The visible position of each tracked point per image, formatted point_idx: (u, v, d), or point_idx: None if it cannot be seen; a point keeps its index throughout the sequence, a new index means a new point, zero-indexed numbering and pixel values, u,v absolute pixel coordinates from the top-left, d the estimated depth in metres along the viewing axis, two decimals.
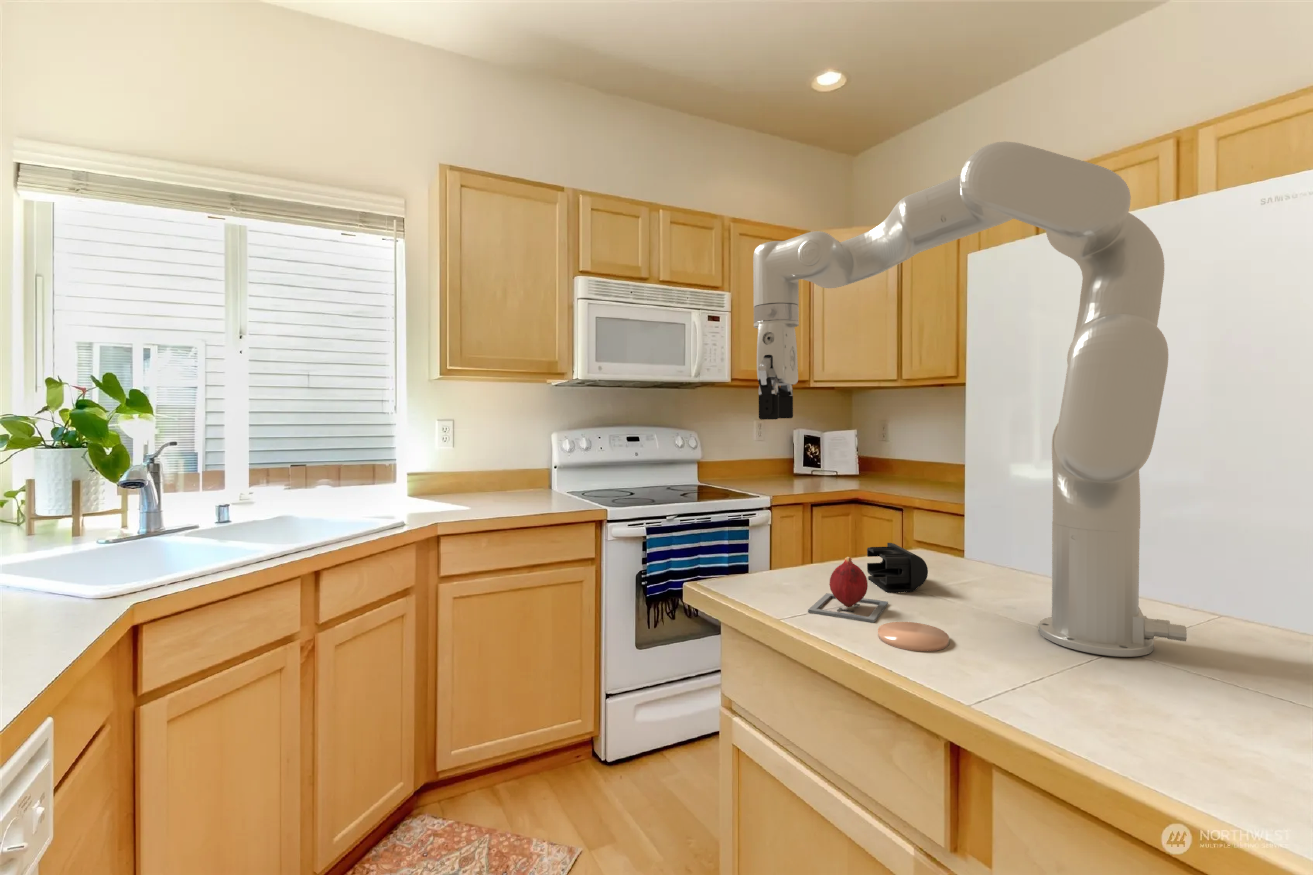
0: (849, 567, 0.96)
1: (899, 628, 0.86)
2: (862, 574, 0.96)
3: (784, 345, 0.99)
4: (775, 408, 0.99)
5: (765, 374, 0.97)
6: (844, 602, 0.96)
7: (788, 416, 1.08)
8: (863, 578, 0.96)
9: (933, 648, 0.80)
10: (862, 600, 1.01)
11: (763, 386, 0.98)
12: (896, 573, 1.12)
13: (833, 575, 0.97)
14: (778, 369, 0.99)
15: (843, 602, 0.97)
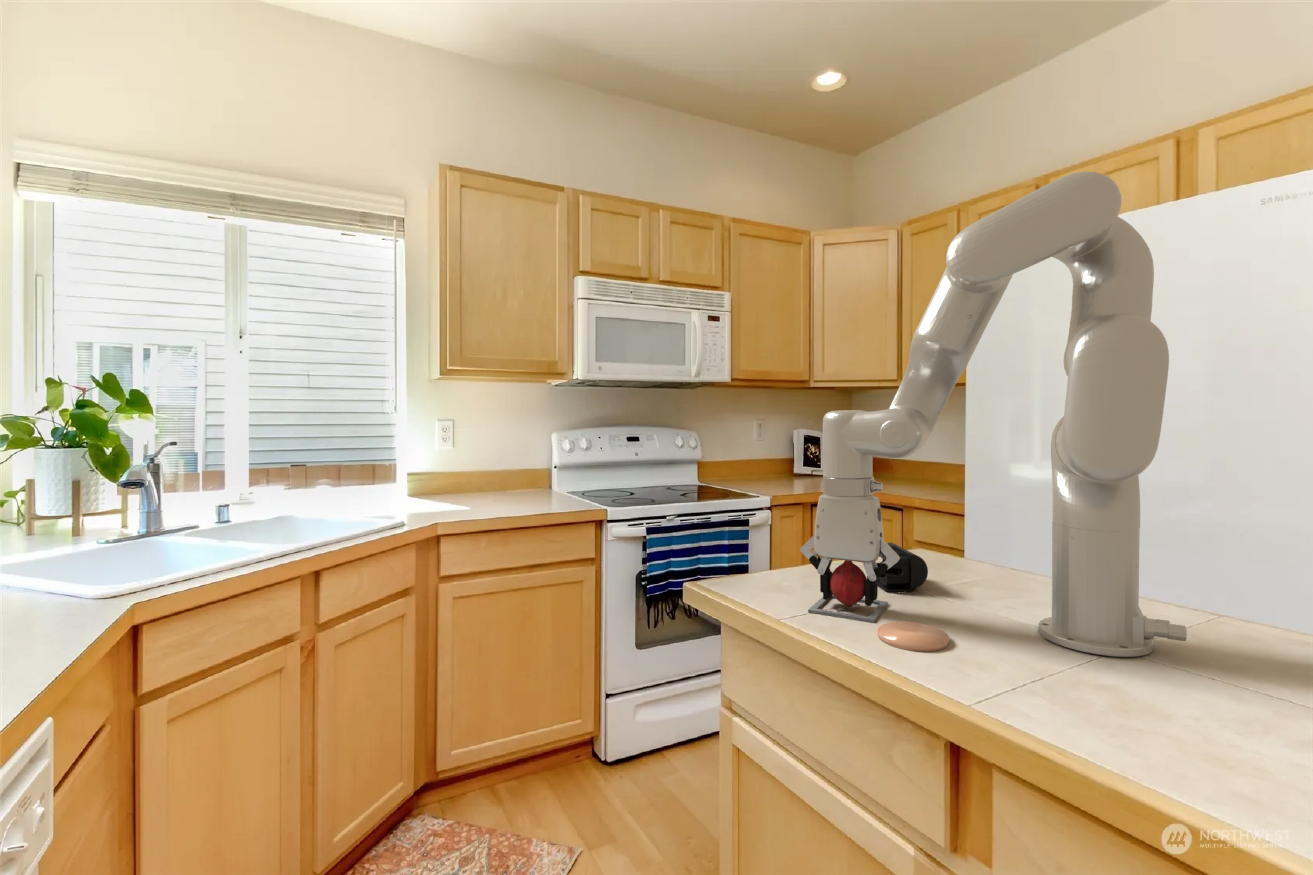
0: (849, 567, 0.96)
1: (899, 628, 0.86)
2: (862, 574, 0.96)
3: None
4: None
5: None
6: (844, 602, 0.96)
7: (832, 594, 1.00)
8: (863, 578, 0.96)
9: (933, 648, 0.80)
10: (862, 600, 1.01)
11: None
12: (896, 573, 1.12)
13: (833, 575, 0.97)
14: None
15: (843, 602, 0.97)
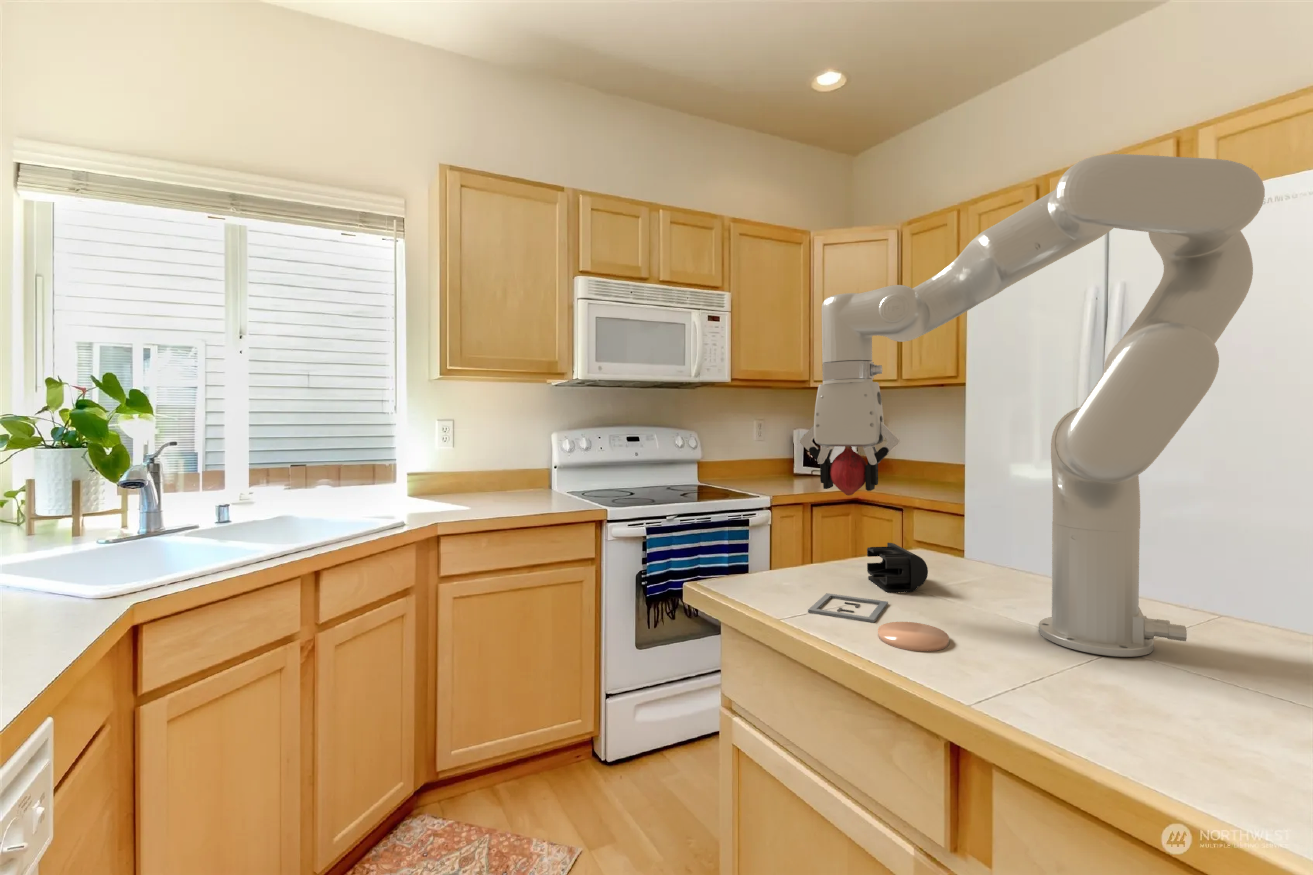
0: (849, 453, 0.95)
1: (899, 628, 0.86)
2: (862, 460, 0.95)
3: None
4: None
5: (895, 446, 0.93)
6: (844, 489, 0.96)
7: (832, 485, 0.99)
8: (864, 464, 0.95)
9: (933, 648, 0.80)
10: (862, 600, 1.01)
11: None
12: (896, 573, 1.12)
13: (833, 463, 0.96)
14: None
15: (843, 489, 0.96)
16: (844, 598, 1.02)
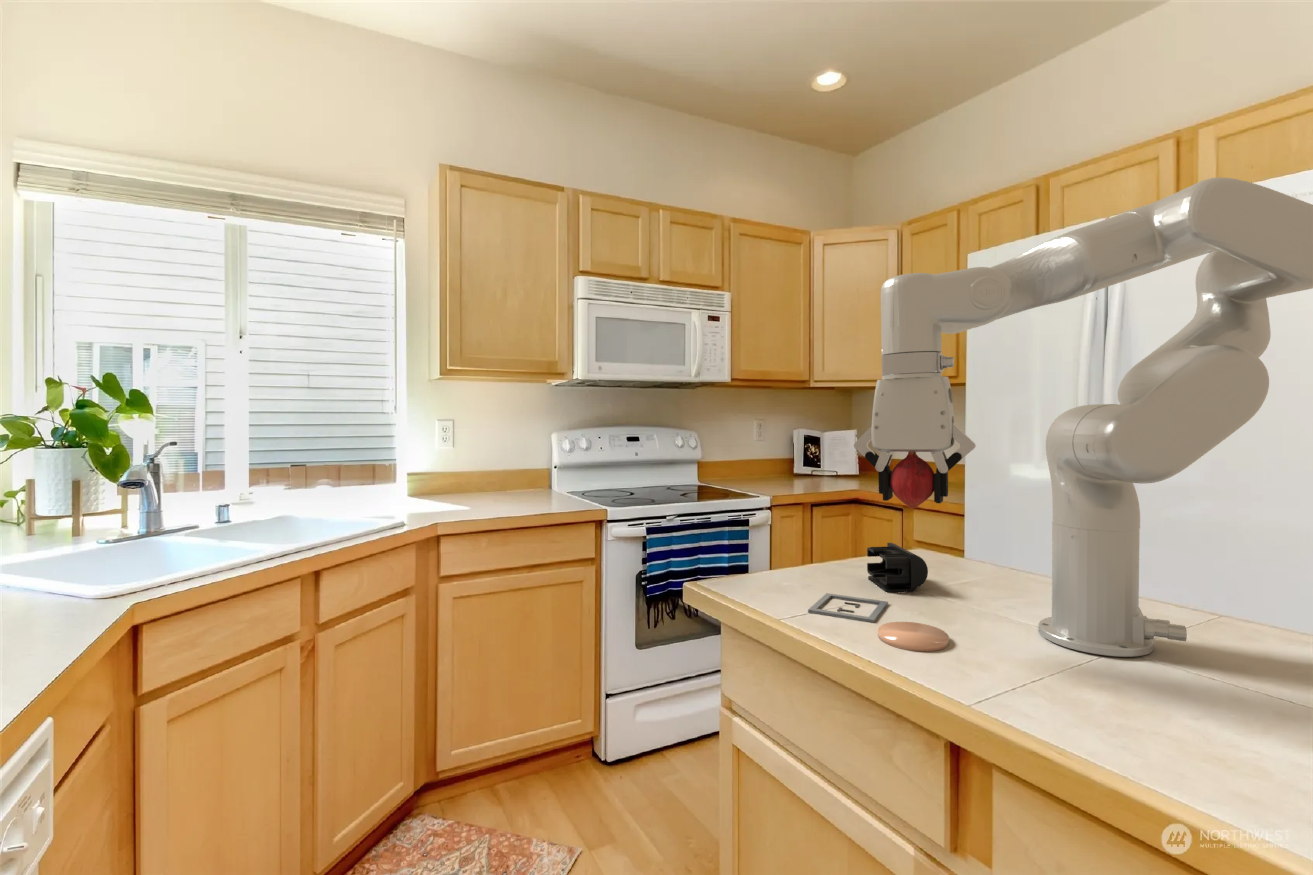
0: (914, 459, 0.82)
1: (899, 628, 0.86)
2: (930, 468, 0.82)
3: None
4: None
5: (969, 451, 0.80)
6: (909, 501, 0.82)
7: (892, 496, 0.86)
8: (931, 472, 0.82)
9: (933, 648, 0.80)
10: (862, 600, 1.01)
11: None
12: (896, 573, 1.12)
13: (895, 470, 0.83)
14: None
15: (907, 501, 0.82)
16: (844, 598, 1.02)
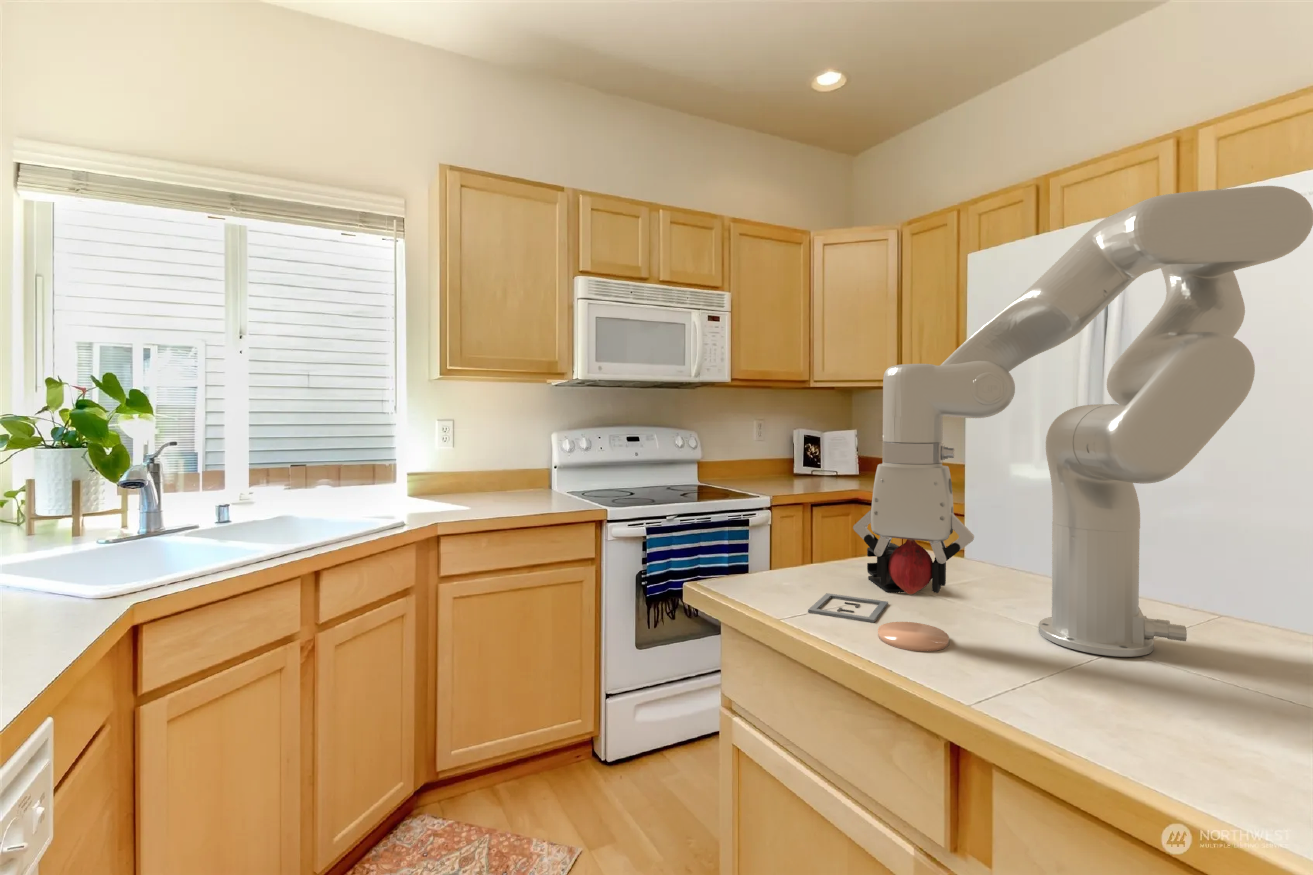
0: (913, 547, 0.82)
1: (899, 628, 0.86)
2: (928, 556, 0.82)
3: None
4: None
5: None
6: (906, 588, 0.83)
7: (889, 579, 0.86)
8: (930, 561, 0.82)
9: (933, 648, 0.80)
10: (862, 600, 1.01)
11: None
12: None
13: (893, 557, 0.83)
14: None
15: (905, 588, 0.83)
16: (844, 598, 1.02)
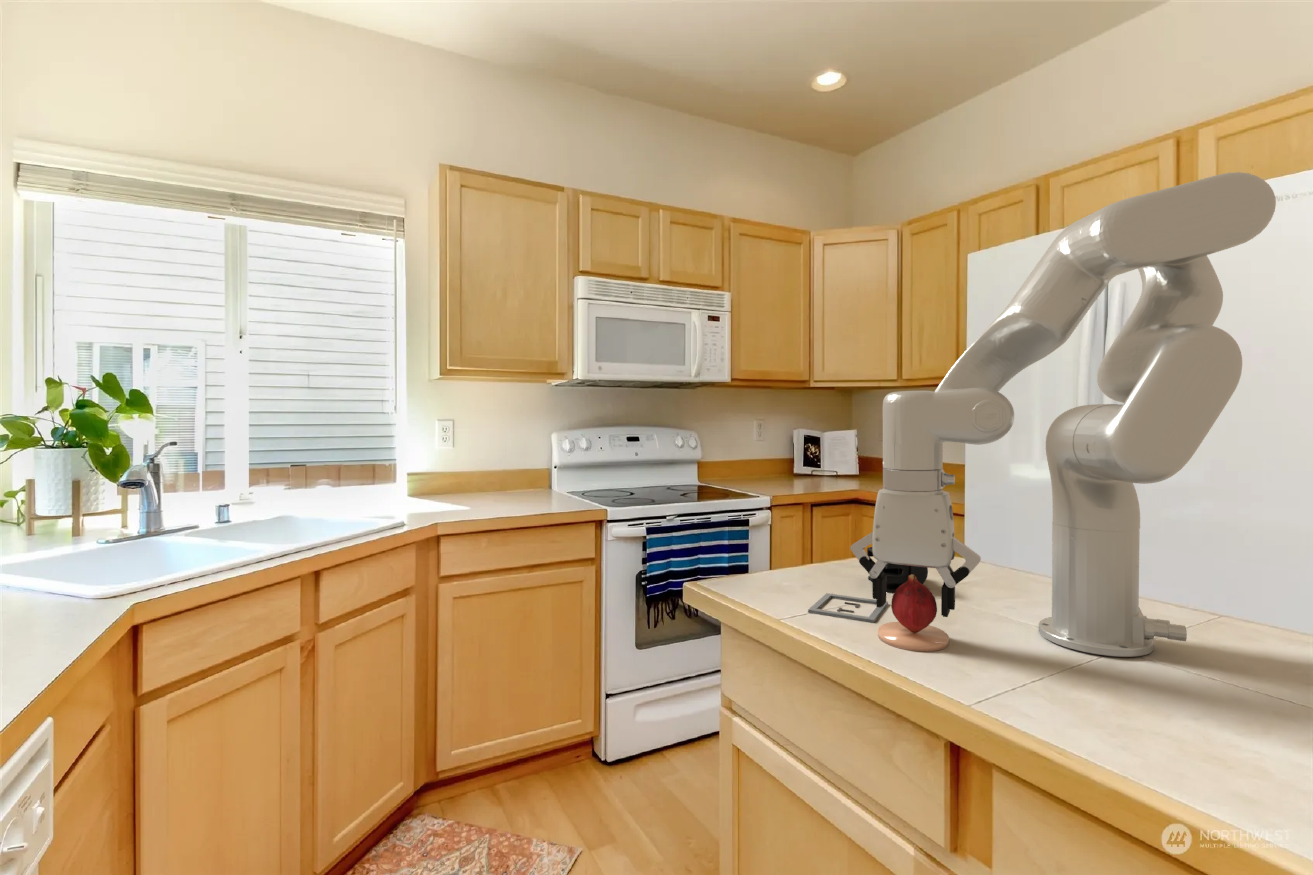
0: (915, 586, 0.83)
1: (899, 628, 0.86)
2: (930, 594, 0.83)
3: None
4: None
5: None
6: (910, 627, 0.83)
7: (885, 601, 0.87)
8: (932, 599, 0.82)
9: (933, 648, 0.80)
10: (862, 600, 1.01)
11: None
12: (896, 573, 1.12)
13: (896, 596, 0.84)
14: None
15: (909, 627, 0.83)
16: (844, 598, 1.02)
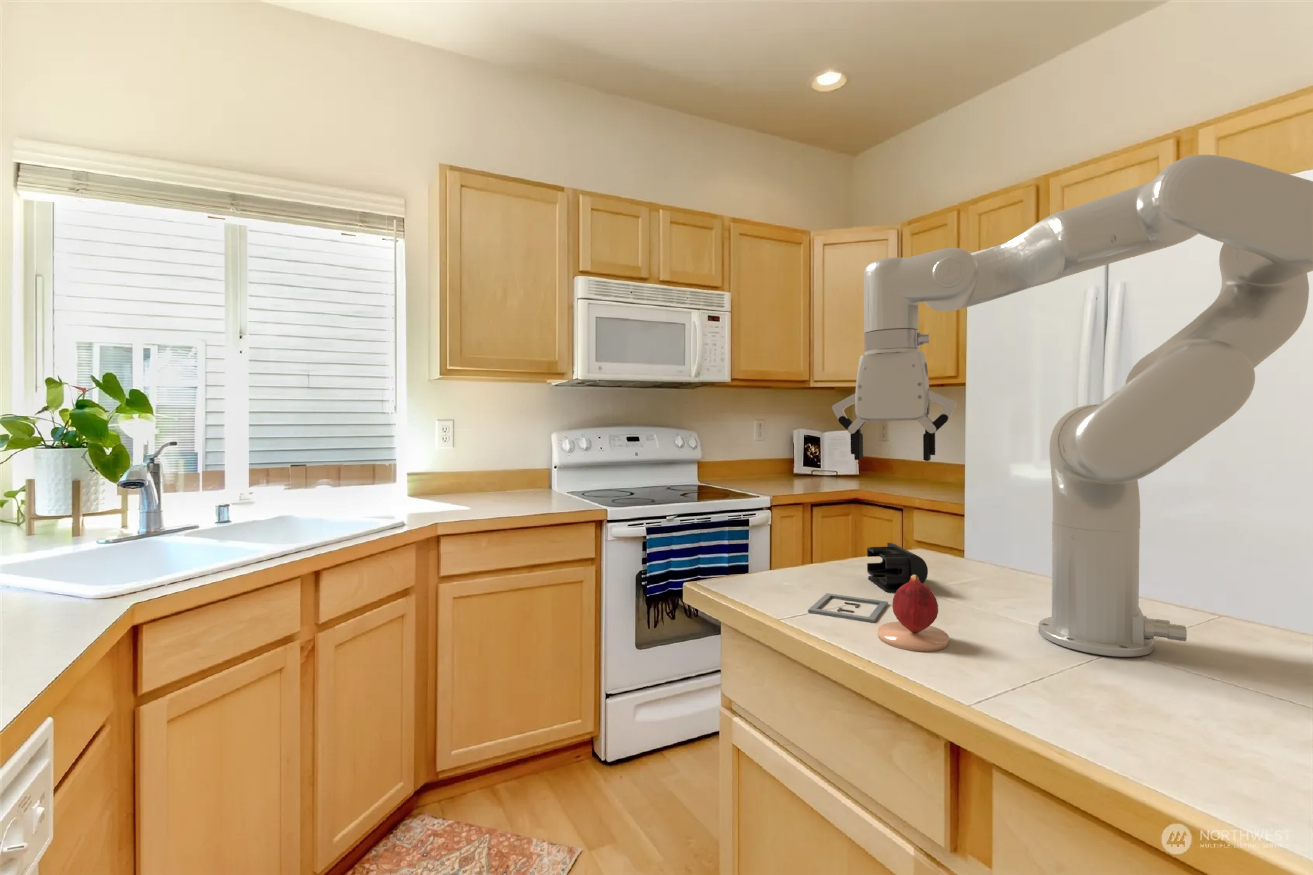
0: (917, 587, 0.83)
1: (899, 628, 0.86)
2: (932, 595, 0.83)
3: None
4: None
5: (953, 410, 0.88)
6: (911, 628, 0.83)
7: (862, 456, 0.95)
8: (934, 600, 0.82)
9: (933, 648, 0.80)
10: (862, 600, 1.01)
11: None
12: (896, 573, 1.12)
13: (897, 596, 0.84)
14: (929, 404, 0.90)
15: (909, 628, 0.83)
16: (844, 598, 1.02)
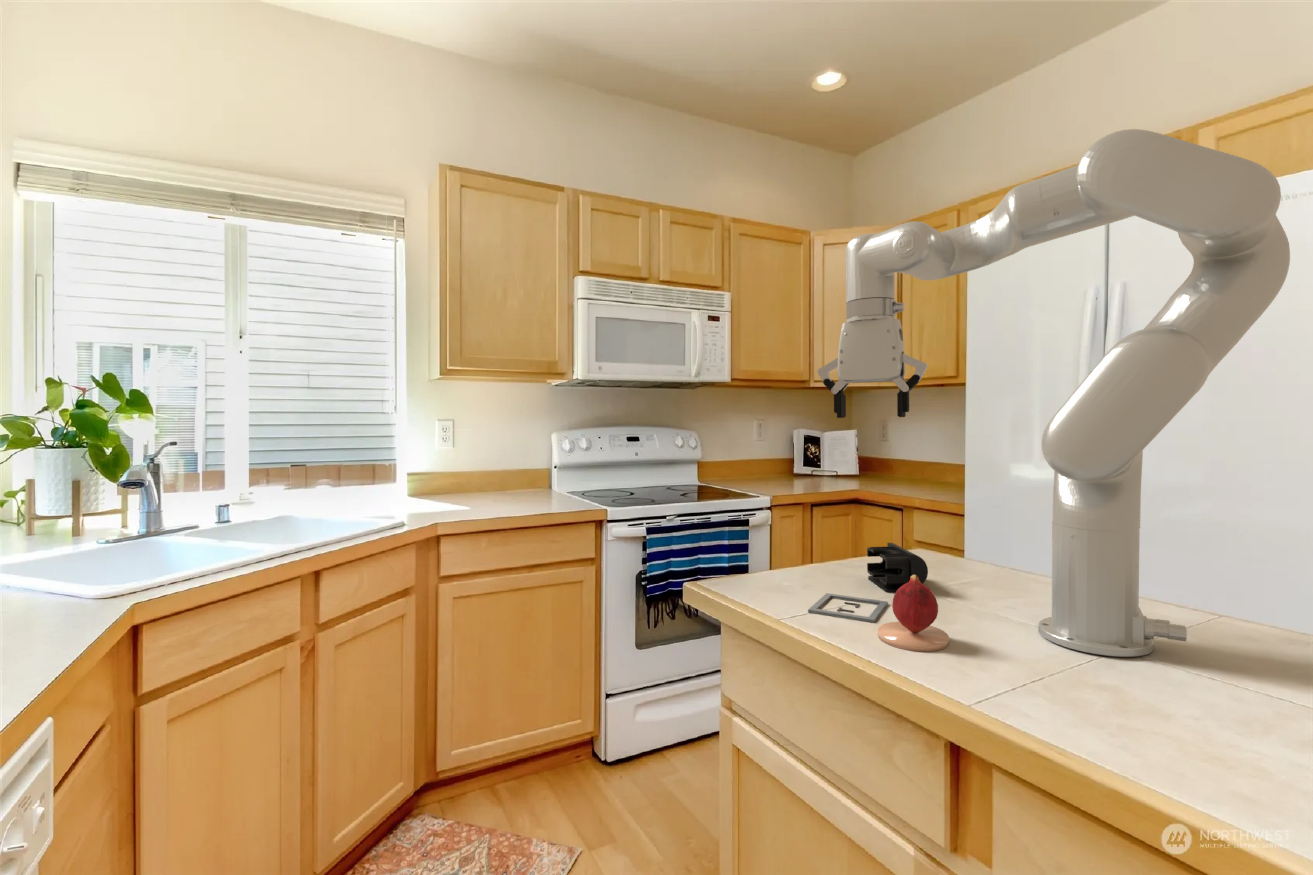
0: (917, 587, 0.83)
1: (899, 628, 0.86)
2: (932, 595, 0.83)
3: None
4: None
5: (924, 371, 0.97)
6: (911, 628, 0.83)
7: (845, 415, 1.05)
8: (934, 601, 0.82)
9: (933, 648, 0.80)
10: (862, 600, 1.01)
11: None
12: (896, 573, 1.12)
13: (897, 596, 0.84)
14: (904, 367, 1.00)
15: (909, 628, 0.83)
16: (844, 598, 1.02)
